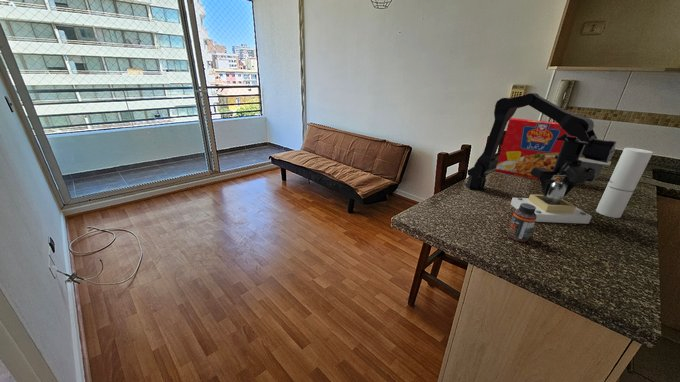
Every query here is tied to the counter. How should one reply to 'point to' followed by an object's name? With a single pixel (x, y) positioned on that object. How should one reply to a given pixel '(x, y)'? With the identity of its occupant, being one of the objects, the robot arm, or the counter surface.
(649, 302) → the counter surface
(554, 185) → the spout can
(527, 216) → the supplement bottle
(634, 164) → the cylindrical container
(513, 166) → the pasta box
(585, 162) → the architectural model
